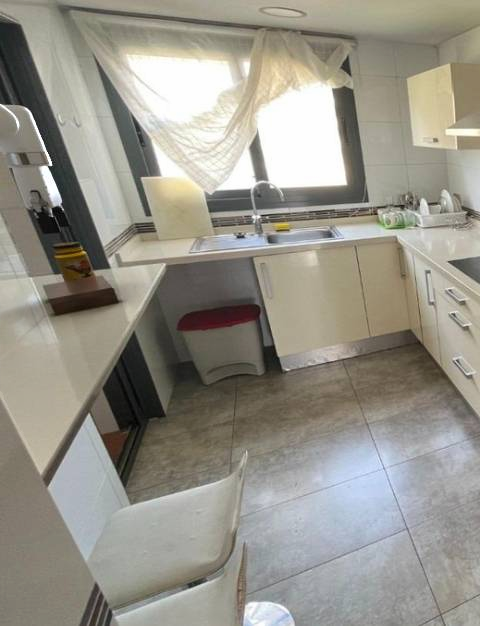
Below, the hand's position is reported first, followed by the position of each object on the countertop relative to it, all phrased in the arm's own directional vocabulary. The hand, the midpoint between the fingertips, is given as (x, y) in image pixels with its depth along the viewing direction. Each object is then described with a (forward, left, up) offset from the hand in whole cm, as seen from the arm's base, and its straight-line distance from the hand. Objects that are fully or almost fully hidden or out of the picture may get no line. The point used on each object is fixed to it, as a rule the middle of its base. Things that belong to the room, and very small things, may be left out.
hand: (57, 230), depth 118 cm
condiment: (0, 0, -16) cm, 16 cm away
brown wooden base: (+3, -17, -16) cm, 23 cm away
